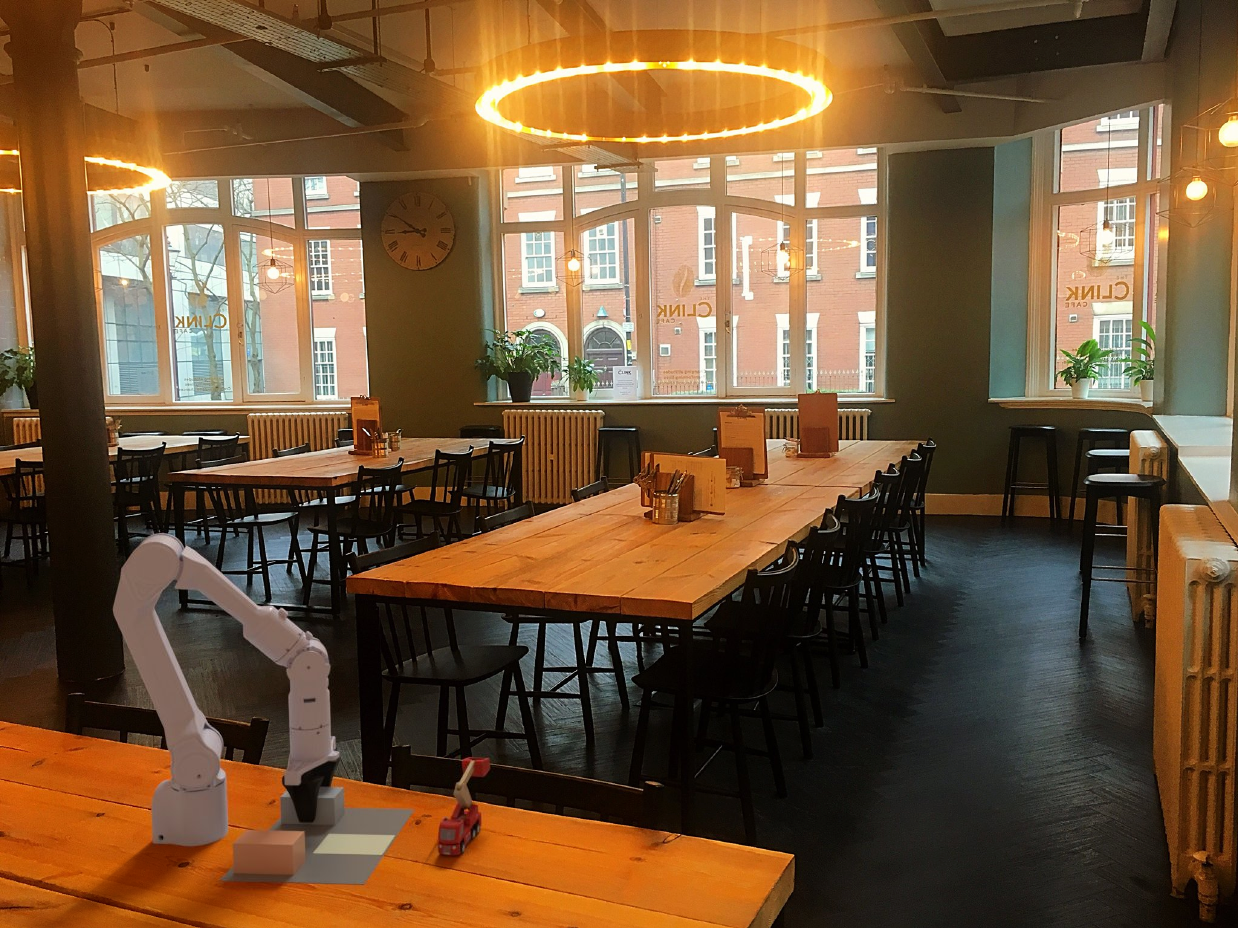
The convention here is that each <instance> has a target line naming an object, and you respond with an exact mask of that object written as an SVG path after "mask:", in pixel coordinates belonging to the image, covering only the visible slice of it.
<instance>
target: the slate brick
mask: <svg viewBox="0 0 1238 928" xmlns="http://www.w3.org/2000/svg"><path fill="white" fill-rule="evenodd" d="M279 800H280V801H279V803H280V818H281V824H312V825H335V824H336V823H337V822H338V821H339V820H340V818H341V817H342V816H343V815H344V814H345V808H346V807H345V787H344V786H331V787H320V788H319V792H318V798H317V809H316V816H315V820H314V822H313V823H301V822H299V820H298V817H297V814H296V810H295V807H294V804H293V801H292V799H291V797H290V795H289V793H288V791H287V790H286V791H284V793H282V795H281V796H280V797H279Z"/></svg>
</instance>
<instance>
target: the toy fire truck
mask: <svg viewBox="0 0 1238 928" xmlns="http://www.w3.org/2000/svg"><path fill="white" fill-rule="evenodd" d="M461 769H462V774H463V775H462V777H461V779H460V780H459V781H458V782H457V781H456V783H455V788H454V791H453V796H454V798H455V799H456V801H457V803H456V805H455V807H454V810H453V812H452V814H451V815H450V818H448V817H446V816H445V817H444V818H442V819H441V821H440V823H439V826H438V833H437V841H438V842H437V850H438V851H437V852H438V854H440V855H444V856H459V855H460V854H464V853H465V851H466V850H465V849H466V846H467V845H468V843H469V842H470V841H471V840H474V839H475V838H476V835H477V834H479V833H480V828H481V826H482V812H481V811H480V812H479V805H478V804H477V803H474V802H473V800H472V797H471V794H470V791H469V788H468V786H467V784H468V782H469V780H470V778H471V777H478V778H479V777H482V778H484V777H486V776H487V774H488V772H489V771H490V769H491V762H490V758H489V757H472V756H471V757H465V758H463V759H462V760H461Z"/></svg>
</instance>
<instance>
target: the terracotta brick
mask: <svg viewBox="0 0 1238 928" xmlns="http://www.w3.org/2000/svg"><path fill="white" fill-rule="evenodd" d="M268 830H269V829H266V830H265V829H264V830H262V829H260V830H259V829H246V830H244V832H242V834H241V835H239V837H238V838H237V839H235V840H234V842H232V861H233V862H232V863H233V864H232V867H233V866H234V873H243V874H282V875H294V874H295V873H296V871H297V870H298V869H299V868H300V867H301V865H302V864H303V863H304V862H305V860H306V859H305V831H268Z"/></svg>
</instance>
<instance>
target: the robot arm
mask: <svg viewBox="0 0 1238 928" xmlns="http://www.w3.org/2000/svg"><path fill="white" fill-rule="evenodd" d="M120 570H121V571H120V576H119V577H120V579H119V581H118V582H119V583H118V586H117V590H116V594H115V599H114V603H113V606H112V611H113V616H114V618H115V620H116V622H117V625H118V628H119V630H120V632H121V634H122V636H123V639H124V641H125V643H126V646H127V648H128V650H129V653H130V654H131V657H132V659H133V661H134V663H135V666H136V668H137V670H138V673H139V675H140V678H141V679H142V681H143V684H144V686H145V689H146V690H147V693H148V695H149V698H150V700H151V702H152V704H153V706H154V709H155V711H156V712H157V715H158V717H159V720H160V722H161V724H162V726H163V729H164V736H165V741H166V747H167V749H168V750H167V751H168V752H169V754H170V758H171V759H170V760H171V761H170V762H171V763H170V775H171V779H166V780H163V781H161V782H160V783H159V784H158V785H157V786H156V788H155V789H154V792H153V796H152V800H151V807H150V808H151V810H150V812H151V813H150V814H151V827H152V828H151V831H152V832H151V833H152V835H151V836H152V844H159V845H160V844H161V845H162V844H164V845H169V844H170V845H178V846H181V847H182V846H183V847H195V846H203V845H204V846H205V845H208V844H211V843H215V842H217V841H219V840H221V839H223V838H224V837H225V836H226V835H227V834H228V833H229V816H228V815H229V814H228V812H229V811H228V794H227V793H228V792H227V791H228V790H227V774H226V773H227V772H225V770H223V768H221V756H222V752H223V750H224V739H223V737H222V735H221V734H220V732H219V731H218V730H217V729H216V728H215V727H213V726H212V725H210V723H208V720H207V719H206V716H205V714H204V713H203V711H201V710H200V709H199V707H198V706H197V702H196V700H195V698H194V696H193V694H192V691H191V690H190V687H189V685H188V683H187V679H186V678H185V676H184V673H183V671H182V669H181V666H180V664H179V662H178V660H177V657H176V655H175V652H174V650H173V648H172V646H171V644H170V641H169V639H168V637H167V634H166V632H165V630H164V628H163V625H162V623H161V621H160V618H159V616H158V614H157V612H156V609H155V608H156V604H157V603H158V600H159V599H160V596H161V595H162V594H163V593H162V592H163V590H165V589H166V588H167V587H168V586H169V585H170V584H171V583H172V582H173V581H174V580H175V581H176V584H175V586H174V589H177V590H190V591H198V592H200V593H201V594H202V595H203V596H204V597H206V598H207V599H209V600H210V601H211V602H213V603H214V604H216V605H217V606H218V607H219V608H221V609H222V610H224V611H225V612H226V613H227V614H229V615H230V616H232V618H234V619H235V620H236V621H238V622H240V623H241V624H242V632H243V633H242V635H243V638H245V640H247V641H248V642H249V643H250V644H251V645H253V646H254V647H255V648H257V649H258V650H259V651H260V652H261V653H263V654H264V655H265V656H266V657H268V658H269V659H271V661H273V662H274V663H275V664H276V665H279V666H281V667H282V666H283V667H285V668H286V676H287V677H288V679H289V687H290V689H289V690H290V691H289V693H288V719H289V720H288V721H289V722H288V723H289V724H288V725H289V726H288V727H289V749H290V751H289V752H290V753H289V755H288V761H287V762H288V763H287V768H286V770H285V771H284V772H283V773H284V775H283V776H282V777H281V784H282V786H283V787H284V788H285V790H286V791H288V793H289V795H290V797H291V799H292V801H293V804H294V807H295V810H296V814H297V817H298V820H299V822H301V823H313V822H314V820H315V816H316V809H317V798H318V792H319V788H320V787H332V783H333V779H334V776H335V773H336V771H337V768H338V765H339V764H340V761H341V758H340V751H337V750H336V749H337V748H336V736H334V735H333V736H332V735H331V731H332V730H331V727H332V726H331V701H330V700H331V699H330V695H331V694H330V690H329V689H328V687H329V677H328V676H329V675H330V672H331V664H330V660H329V655H328V652H327V648H326V647H325V646H324V644H323V643H322V642H321V641H320V639H318V638H316V637H314V636H313V634H312V633H311V632H310V631H308V630H307V631H306V632H304V630H302V629H301V628H300V627H299V626H298V625H296V624H295V623H294V622H293V621H292V620H290V619H289V618H288V615H289V613H288V611H286V610H285V609H284V608H283V607H280V608H279V609H277V608H276V607H275V606H273V605H263V606H261V605H258V604H256V602H254V601H253V600H252V599H251V598H250V597H249V596H248V595H246V594H245V593H244V592H243V591H242V590H241V589H240V588H239V587H238V586H236V584H234V583H233V582H232V581H231V580H230V579H229V578H228V577H226V576H225V574H223V573H222V572H221V571H220V570H219V569H218V568H217V567H215V566H214V565H213V564H212V563H211V562H210V561H208V559H207V558H205V557H204V556H202V555H201V554H199V553H198V552H197V551H196V550H194V549H193V548H191V547H190V546H188V545H186V546H185V547H184V545H183V543H182V542H181V540H180V539H179V538H177V537H176V536H174V535H172V534H170V533H164V532H162V533H155V534H151V535H149V536H147V537H146V538H145V539H143V540H142V542H141V543H140V544H139V545H138V546H137V547H136V548H135V549H134V550H133V551H132V553H131V554H130V555H129V557H128V558H127V560H126V561H125V562H124V564H123V566H122V567H121V569H120ZM162 837H163V838H162Z"/></svg>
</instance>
